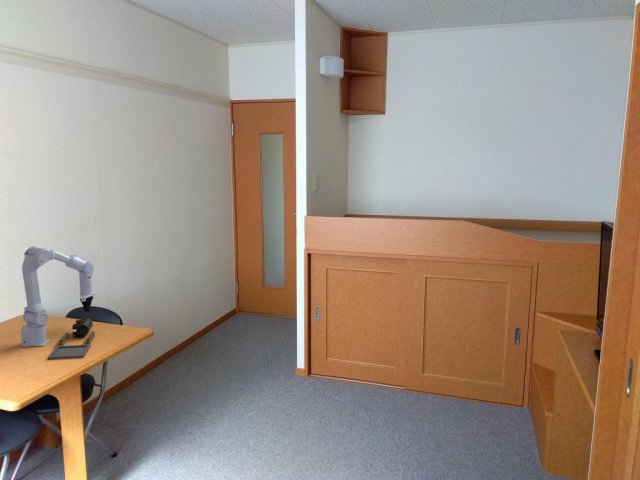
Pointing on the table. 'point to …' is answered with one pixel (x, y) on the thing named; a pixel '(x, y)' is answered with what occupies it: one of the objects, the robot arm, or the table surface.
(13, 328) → the table surface
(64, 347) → the tray
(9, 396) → the table surface
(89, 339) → the channel walls
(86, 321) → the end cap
